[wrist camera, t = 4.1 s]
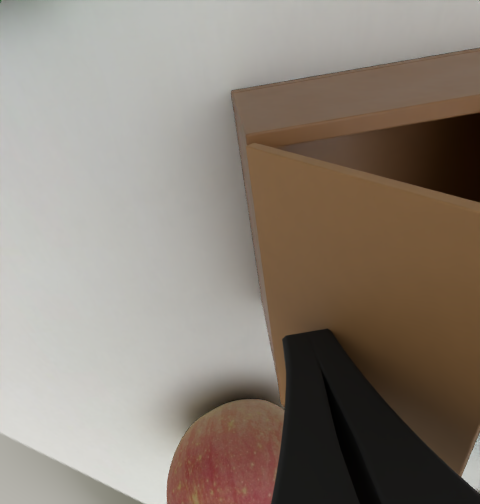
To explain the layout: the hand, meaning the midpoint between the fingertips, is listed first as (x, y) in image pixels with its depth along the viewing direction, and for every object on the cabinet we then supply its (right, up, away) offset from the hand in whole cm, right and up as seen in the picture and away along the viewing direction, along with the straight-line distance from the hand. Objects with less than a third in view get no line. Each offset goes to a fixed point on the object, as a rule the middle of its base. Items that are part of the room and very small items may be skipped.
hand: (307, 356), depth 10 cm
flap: (+1, 0, 0) cm, 1 cm away
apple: (-2, -8, +16) cm, 18 cm away
